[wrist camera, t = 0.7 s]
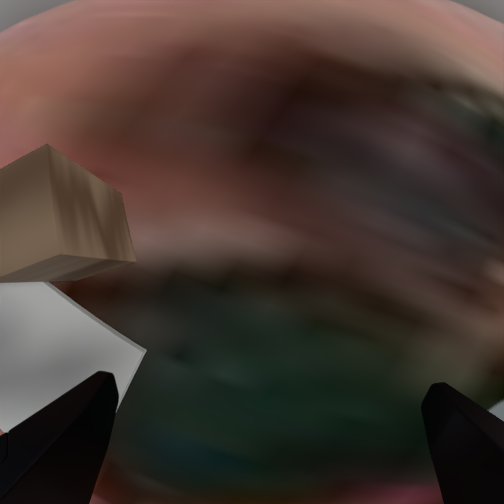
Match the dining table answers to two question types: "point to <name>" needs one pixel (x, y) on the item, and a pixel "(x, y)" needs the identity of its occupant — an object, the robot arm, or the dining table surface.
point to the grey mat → (53, 349)
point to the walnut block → (59, 221)
